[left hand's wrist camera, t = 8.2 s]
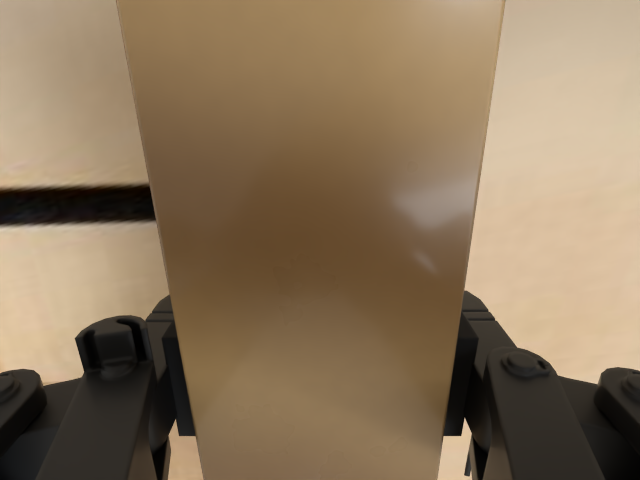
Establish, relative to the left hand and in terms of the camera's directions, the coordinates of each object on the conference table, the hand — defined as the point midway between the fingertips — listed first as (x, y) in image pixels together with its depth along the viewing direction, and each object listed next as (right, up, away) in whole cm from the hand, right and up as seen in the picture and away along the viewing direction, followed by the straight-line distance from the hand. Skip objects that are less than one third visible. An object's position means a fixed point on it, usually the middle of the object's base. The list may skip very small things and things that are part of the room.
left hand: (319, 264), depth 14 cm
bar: (0, -21, +9) cm, 23 cm away
